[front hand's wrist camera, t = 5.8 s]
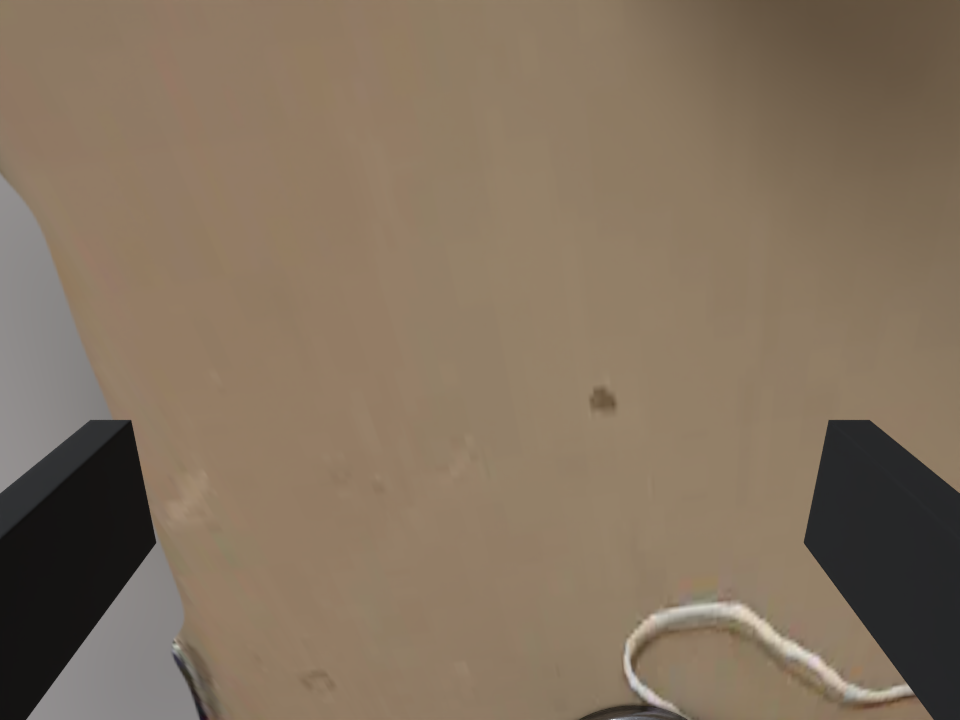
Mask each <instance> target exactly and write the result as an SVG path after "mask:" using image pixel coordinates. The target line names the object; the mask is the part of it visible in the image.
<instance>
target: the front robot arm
mask: <svg viewBox="0 0 960 720" xmlns="http://www.w3.org/2000/svg"><path fill="white" fill-rule="evenodd" d="M155 544H156V539H155V534H154V529H153V524H152V520H151V515H150V510H149V505H148V500H147V495H146V490H145V485H144V480H143V475H142V471H141V466H140V461H139V456H138V451H137V446H136V441H135V436H134V431H133V427H132V422H131V420H90V421H89V422H87V423H86V424H85V425H84V426H83V427H81V428H80V429H79V430H78V431H76V432H75V433H74V434H73V435H72V436H70V437H69V438H68V439H67V440H65V441H64V442H63V443H62V444H60V445H59V446H58V447H57V448H56V449H54V450H53V451H52V452H51V453H49V454H48V455H47V456H46V457H45V458H43V459H42V460H41V461H40V462H38V463H37V464H36V465H35V466H33V467H32V468H31V469H30V470H29V471H27V472H26V473H25V474H24V475H22V476H21V477H20V478H19V479H17V480H16V481H15V482H14V483H13V484H11V485H10V486H9V487H8V488H6V489H5V490H4V491H3V492H2V493H0V720H26V719H27V718H28V716H29V715H30V714H31V712H32V711H33V710H34V708H35V707H36V706H37V704H38V703H39V702H40V700H41V699H42V697H43V696H44V695H45V693H46V692H47V691H48V689H49V688H50V687H51V685H52V684H53V682H54V681H55V680H56V678H57V677H58V676H59V674H60V673H61V672H62V670H63V669H64V668H65V666H66V665H67V663H68V662H69V661H70V659H71V658H72V657H73V655H74V654H75V653H76V651H77V650H78V648H79V647H80V646H81V644H82V643H83V642H84V640H85V639H86V638H87V636H88V635H89V634H90V632H91V631H92V629H93V628H94V627H95V625H96V624H97V623H98V621H99V620H100V619H101V617H102V616H103V615H104V613H105V612H106V610H107V609H108V608H109V606H110V605H111V604H112V602H113V601H114V600H115V598H116V597H117V596H118V594H119V593H120V591H121V590H122V589H123V587H124V586H125V585H126V583H127V582H128V581H129V579H130V578H131V576H132V575H133V574H134V572H135V571H136V570H137V568H138V567H139V566H140V564H141V563H142V562H143V560H144V559H145V557H146V556H147V555H148V553H149V552H150V551H151V549H152V548H153V547H154V545H155ZM804 544H805V545H806V547H807V548H808V549H809V551H810V552H811V553H812V555H813V556H814V557H815V559H816V560H817V562H818V563H819V564H820V566H821V567H822V568H823V570H824V571H825V572H826V574H827V575H828V576H829V578H830V579H831V581H832V582H833V583H834V585H835V586H836V587H837V589H838V590H839V591H840V593H841V594H842V596H843V597H844V598H845V600H846V601H847V602H848V604H849V605H850V606H851V608H852V609H853V610H854V612H855V613H856V615H857V616H858V617H859V619H860V620H861V621H862V623H863V624H864V625H865V627H866V628H867V629H868V631H869V632H870V634H871V635H872V636H873V638H874V639H875V640H876V642H877V643H878V644H879V646H880V647H881V649H882V650H883V651H884V653H885V654H886V655H887V657H888V658H889V659H890V661H891V662H892V663H893V665H894V666H895V668H896V669H897V670H898V672H899V673H900V674H901V676H902V677H903V678H904V680H905V681H906V682H907V684H908V685H909V687H910V688H911V689H912V691H913V692H914V693H915V695H916V696H917V697H918V699H919V700H920V702H921V703H922V704H923V706H924V707H925V708H926V710H927V711H928V712H929V714H930V715H931V716H932V718H933V719H934V720H960V493H958V492H957V491H956V490H955V489H954V488H952V487H951V486H950V485H949V484H947V483H946V482H945V481H944V480H943V479H941V478H940V477H939V476H938V475H936V474H935V473H934V472H933V471H931V470H930V469H929V468H928V467H927V466H925V465H924V464H923V463H922V462H920V461H919V460H918V459H917V458H915V457H914V456H913V455H912V454H911V453H909V452H908V451H907V450H906V449H904V448H903V447H902V446H901V445H900V444H898V443H897V442H896V441H895V440H893V439H892V438H891V437H890V436H888V435H887V434H886V433H885V432H884V431H882V430H881V429H880V428H879V427H877V426H876V425H875V424H874V423H873V422H871V421H870V420H829V422H828V427H827V431H826V436H825V441H824V446H823V451H822V456H821V461H820V466H819V471H818V475H817V480H816V485H815V490H814V495H813V500H812V505H811V510H810V515H809V520H808V524H807V529H806V534H805V539H804ZM580 720H687V719H685V718H684V717H682V716H680V715H678V714H675V713H673V712H670V711H667V710H663V709H660V708H655V707H648V706H622V707H615V708H609V709H605V710H601V711H598V712H595V713H593V714H590V715H588V716H586V717H584V718H582V719H580Z"/></svg>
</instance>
